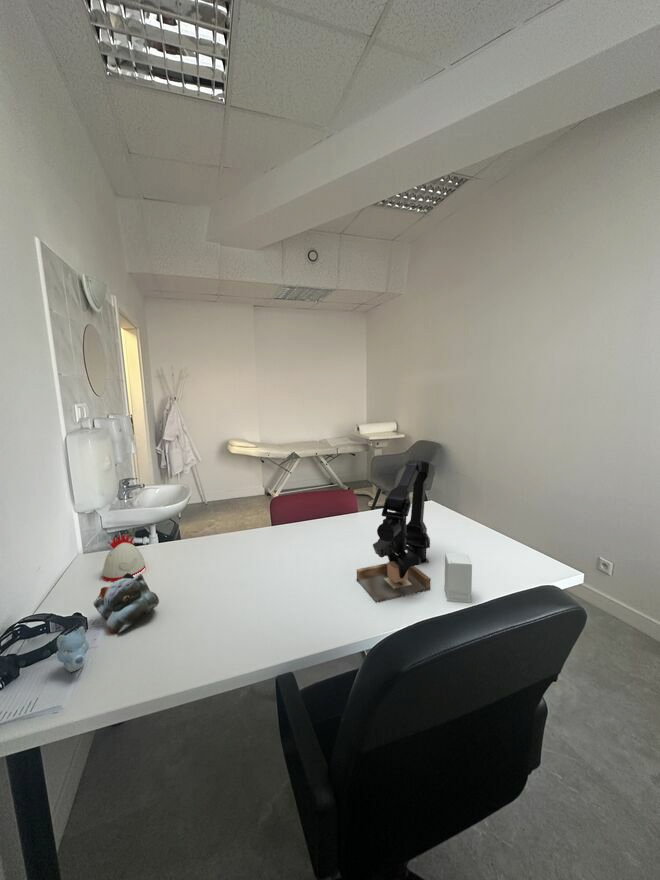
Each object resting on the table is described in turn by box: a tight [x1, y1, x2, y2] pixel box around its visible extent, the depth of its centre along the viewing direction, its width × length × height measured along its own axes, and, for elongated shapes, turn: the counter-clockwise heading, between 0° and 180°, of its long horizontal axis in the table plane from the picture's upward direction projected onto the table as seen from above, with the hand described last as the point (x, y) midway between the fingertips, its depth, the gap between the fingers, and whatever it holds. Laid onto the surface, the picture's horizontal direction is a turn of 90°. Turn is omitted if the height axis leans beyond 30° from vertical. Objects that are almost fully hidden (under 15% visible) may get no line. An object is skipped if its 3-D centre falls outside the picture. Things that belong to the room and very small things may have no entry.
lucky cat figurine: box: [93, 573, 160, 634], centre depth 106 cm, size 15×12×14 cm
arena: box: [356, 562, 431, 604], centre depth 122 cm, size 20×15×4 cm
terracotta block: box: [386, 561, 408, 583], centre depth 122 cm, size 5×5×5 cm
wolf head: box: [56, 625, 90, 673], centre depth 86 cm, size 6×9×10 cm
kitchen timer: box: [102, 533, 146, 582], centre depth 135 cm, size 14×14×15 cm
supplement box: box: [443, 552, 473, 604], centre depth 114 cm, size 7×7×13 cm
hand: (397, 574), depth 123 cm, fingers closed on terracotta block, 5 cm apart
